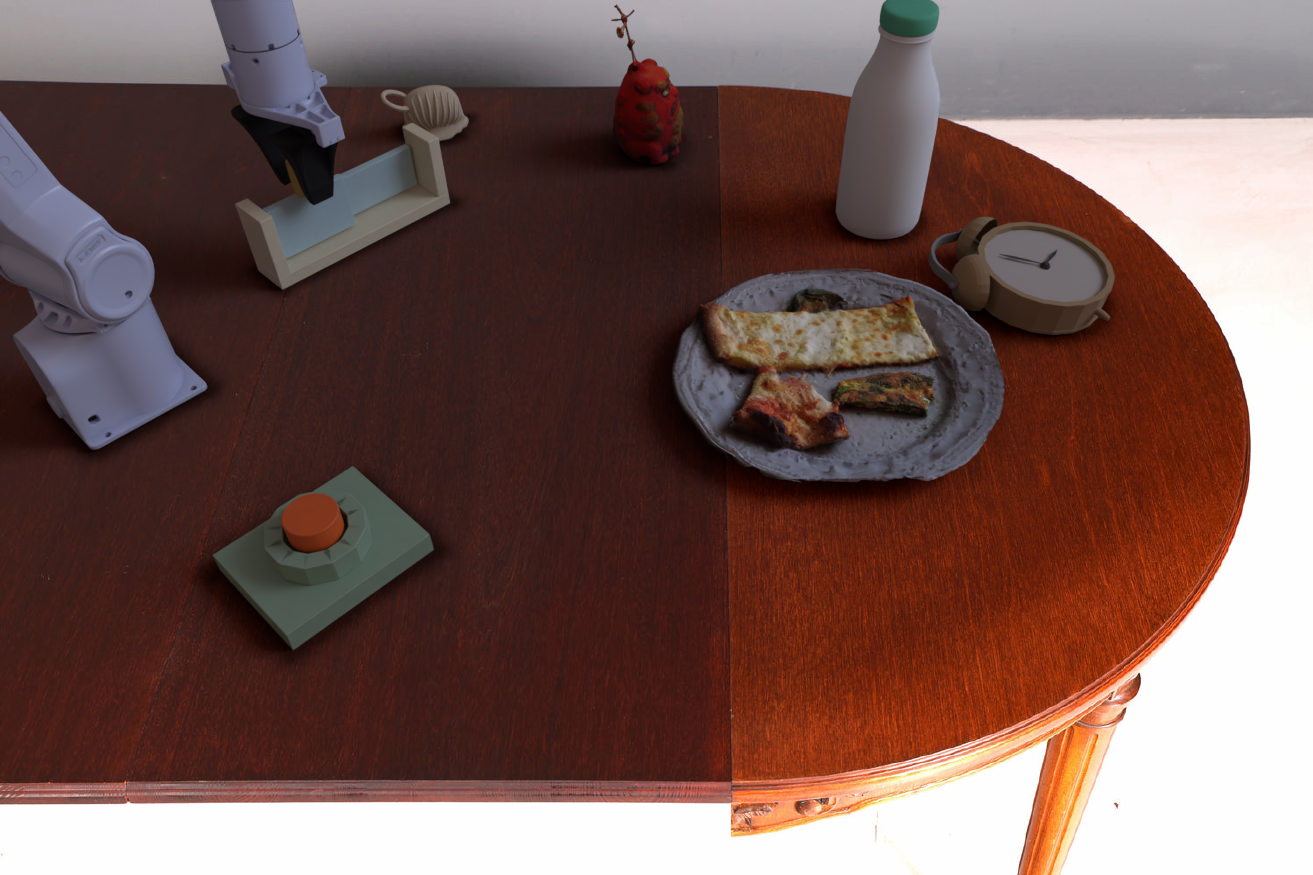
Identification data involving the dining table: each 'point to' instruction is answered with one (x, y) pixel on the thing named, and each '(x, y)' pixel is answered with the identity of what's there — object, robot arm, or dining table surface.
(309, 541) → the button
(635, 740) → the dining table surface
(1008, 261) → the alarm clock
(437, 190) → the window frame
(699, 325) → the food plate
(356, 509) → the button block
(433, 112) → the decorative ornament
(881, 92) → the milk bottle
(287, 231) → the blue panel with knob
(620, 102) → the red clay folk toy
